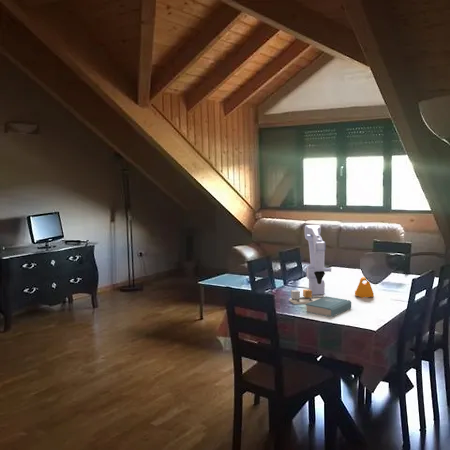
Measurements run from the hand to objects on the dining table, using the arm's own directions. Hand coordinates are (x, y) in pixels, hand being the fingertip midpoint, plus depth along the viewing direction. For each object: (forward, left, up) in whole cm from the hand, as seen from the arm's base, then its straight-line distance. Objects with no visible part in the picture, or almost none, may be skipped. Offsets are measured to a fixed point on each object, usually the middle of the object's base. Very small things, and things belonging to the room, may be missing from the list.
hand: (319, 283), depth 333 cm
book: (+5, +25, -10) cm, 28 cm away
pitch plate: (+8, +4, -9) cm, 13 cm away
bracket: (-30, 0, -10) cm, 32 cm away
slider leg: (+8, +3, -8) cm, 12 cm away
